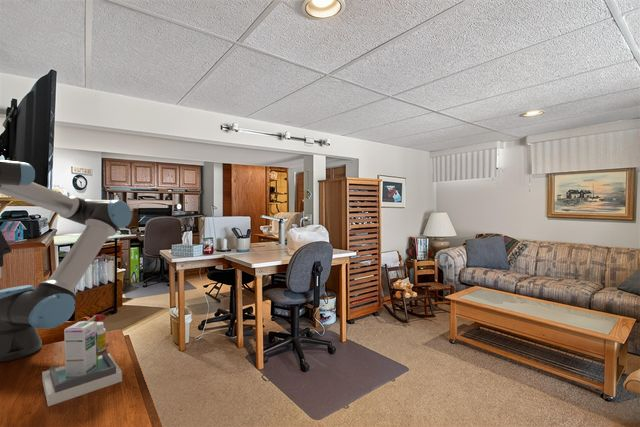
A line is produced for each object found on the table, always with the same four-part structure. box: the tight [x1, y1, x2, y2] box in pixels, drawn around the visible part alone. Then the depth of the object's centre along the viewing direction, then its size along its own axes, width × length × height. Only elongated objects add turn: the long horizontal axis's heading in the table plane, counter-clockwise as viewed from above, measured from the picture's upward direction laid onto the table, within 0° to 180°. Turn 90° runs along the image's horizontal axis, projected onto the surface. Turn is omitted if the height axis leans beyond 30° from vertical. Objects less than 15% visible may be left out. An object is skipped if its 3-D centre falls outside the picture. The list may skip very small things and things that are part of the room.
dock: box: [41, 351, 123, 407], centre depth 95 cm, size 16×17×5 cm
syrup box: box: [63, 320, 99, 377], centre depth 94 cm, size 6×6×14 cm
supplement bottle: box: [96, 321, 107, 353], centre depth 115 cm, size 5×5×10 cm
